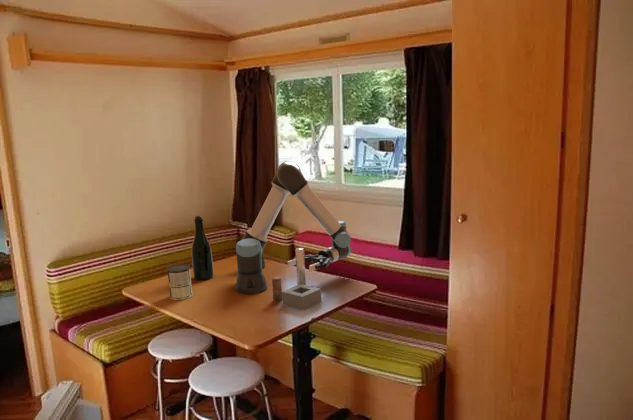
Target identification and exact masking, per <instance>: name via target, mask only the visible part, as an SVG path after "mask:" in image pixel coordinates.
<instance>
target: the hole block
mask: <svg viewBox="0 0 633 420" xmlns="http://www.w3.org/2000/svg"><path fill="white" fill-rule="evenodd" d="M320 303H322V290H321V288H319V287H315V286H310V285H307V284H306V285H302V284H299V285H295V286H292V287H290V288H287V289H285V290H282V305H283V306H287V307H289V308H294V309H297V310H300V311H305V310H307V309H309V308H311V307H314V306H316V305H318V304H320Z"/></svg>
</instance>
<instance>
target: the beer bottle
mask: <svg viewBox="0 0 633 420" xmlns="http://www.w3.org/2000/svg"><path fill="white" fill-rule="evenodd" d="M193 223H194V237H193V241H192V244H191V260H192V261H191V262H192V264H191V265H192V276H193V279H194V280H196V281H207V280H210V279H213V277H214V276H215V275H214V274H215V273H214V261H213V254H212V252H213V251H212V247H211V244H210V242H209V240H208V237H207V235H206V232H205V227H204V218H203V217H202V215H195V216H194V221H193Z"/></svg>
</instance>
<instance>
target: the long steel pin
mask: <svg viewBox="0 0 633 420" xmlns="http://www.w3.org/2000/svg"><path fill="white" fill-rule="evenodd" d="M294 252H295V257H296V265H295V266H296V283H297V285H299V284H302V285H307V280H306V277H307V276H306V263H305V258H304V256H305V248H304V247H296V248H295V251H294ZM297 285H296V286H297Z"/></svg>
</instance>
